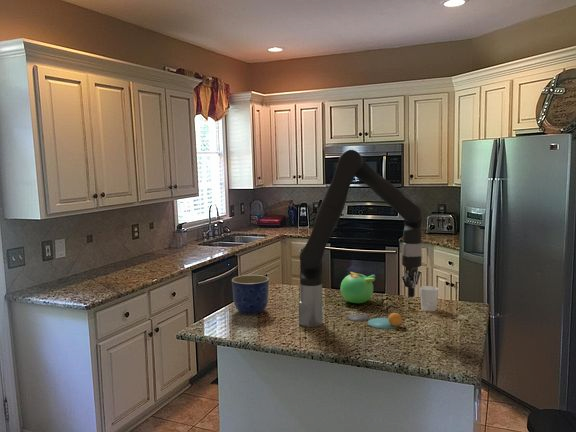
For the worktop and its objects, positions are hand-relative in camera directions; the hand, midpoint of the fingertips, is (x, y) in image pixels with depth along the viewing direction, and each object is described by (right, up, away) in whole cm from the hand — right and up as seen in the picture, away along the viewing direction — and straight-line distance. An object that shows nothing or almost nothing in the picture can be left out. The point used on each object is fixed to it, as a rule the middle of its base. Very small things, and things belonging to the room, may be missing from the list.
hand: (411, 296), depth 188 cm
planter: (-66, -12, +27) cm, 73 cm away
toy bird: (-15, -10, +40) cm, 44 cm away
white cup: (+15, -11, +27) cm, 33 cm away
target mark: (-9, -13, +9) cm, 18 cm away
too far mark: (-19, -12, +16) cm, 28 cm away
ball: (-5, -10, +5) cm, 13 cm away
